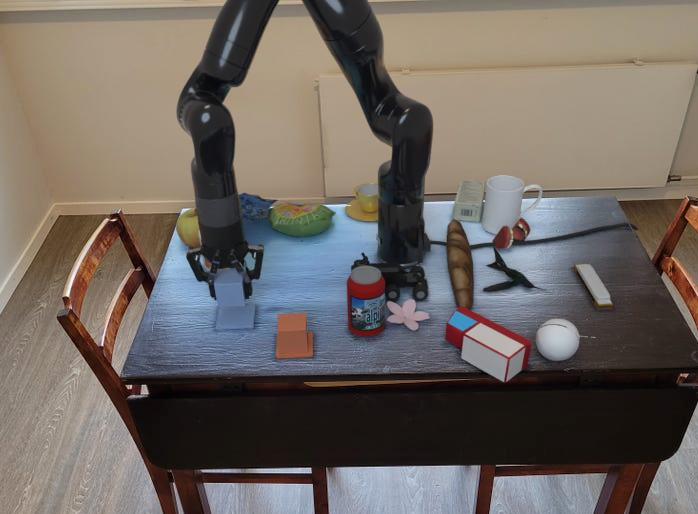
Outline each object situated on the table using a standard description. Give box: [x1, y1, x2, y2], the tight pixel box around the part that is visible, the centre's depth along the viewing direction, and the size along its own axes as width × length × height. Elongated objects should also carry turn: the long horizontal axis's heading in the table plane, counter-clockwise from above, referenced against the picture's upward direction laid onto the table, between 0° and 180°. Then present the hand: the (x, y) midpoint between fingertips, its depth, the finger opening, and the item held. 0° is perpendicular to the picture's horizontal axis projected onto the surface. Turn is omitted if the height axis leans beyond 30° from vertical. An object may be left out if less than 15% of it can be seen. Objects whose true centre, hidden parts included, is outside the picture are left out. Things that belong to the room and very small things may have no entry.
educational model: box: [266, 201, 337, 237], centre depth 156 cm, size 13×16×5 cm
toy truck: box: [444, 306, 533, 383], centre depth 120 cm, size 6×15×7 cm
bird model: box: [482, 246, 546, 292], centre depth 139 cm, size 5×12×10 cm
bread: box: [445, 219, 475, 311], centre depth 142 cm, size 38×5×5 cm, turn 177°
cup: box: [344, 182, 378, 222], centre depth 162 cm, size 12×12×5 cm
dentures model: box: [491, 216, 531, 250], centre depth 149 cm, size 6×4×8 cm
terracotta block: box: [276, 312, 309, 353], centre depth 123 cm, size 5×5×5 cm
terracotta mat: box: [275, 331, 314, 360], centre depth 125 cm, size 6×6×1 cm
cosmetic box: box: [452, 179, 487, 223], centre depth 162 cm, size 6×4×12 cm
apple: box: [175, 207, 201, 249], centre depth 151 cm, size 10×10×8 cm
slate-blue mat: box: [215, 303, 257, 331], centre depth 132 cm, size 7×7×1 cm
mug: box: [481, 174, 543, 235], centre depth 153 cm, size 12×8×10 cm, turn 91°
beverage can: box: [346, 266, 386, 338], centre depth 125 cm, size 7×7×12 cm
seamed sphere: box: [534, 318, 597, 362], centre depth 118 cm, size 10×7×7 cm
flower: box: [385, 298, 431, 331], centre depth 130 cm, size 10×10×2 cm
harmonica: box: [572, 263, 615, 311], centre depth 136 cm, size 15×3×2 cm, turn 4°
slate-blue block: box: [214, 268, 247, 308], centre depth 128 cm, size 5×5×5 cm
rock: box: [239, 192, 278, 221], centre depth 155 cm, size 15×17×2 cm
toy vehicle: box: [350, 252, 429, 302], centre depth 135 cm, size 8×15×9 cm, turn 91°
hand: (232, 297), depth 129 cm, fingers closed on slate-blue block, 5 cm apart
